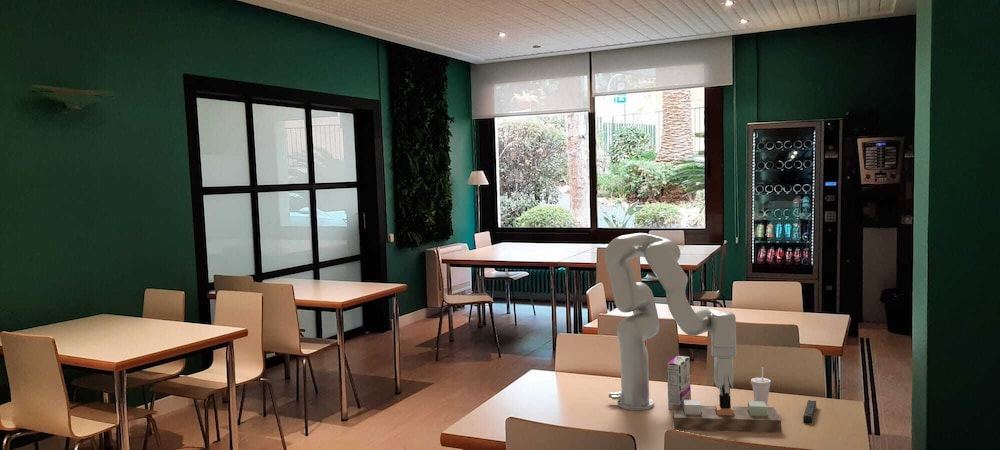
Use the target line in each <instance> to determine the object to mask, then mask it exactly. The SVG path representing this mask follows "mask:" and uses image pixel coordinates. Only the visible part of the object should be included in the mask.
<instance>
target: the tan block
mask: <svg viewBox="0 0 1000 450" xmlns="http://www.w3.org/2000/svg"><path fill="white" fill-rule="evenodd" d="M715 406H716V415H732V416H734V409H733V407H732V406H733V405H732V404H731V408H720V404H715Z"/></svg>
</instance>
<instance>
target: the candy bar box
mask: <svg viewBox="0 0 1000 450" xmlns="http://www.w3.org/2000/svg"><path fill="white" fill-rule="evenodd" d="M690 360H691V359H690V356H685V355H675V356H674V357H673V358H672V359H671V360H670V361H668V362H667V363H666V372H667V373H666V375H667V379H666V380H667V404H668V406H667V407H668V408H667V409H668V410H669V411H672V405H684V400H692V396H691V395H692V394H691V393H692V392H691V366H690V365H691V363H690V362H691V361H690Z"/></svg>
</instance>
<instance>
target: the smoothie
mask: <svg viewBox="0 0 1000 450" xmlns="http://www.w3.org/2000/svg"><path fill="white" fill-rule="evenodd" d="M771 381H772V380H771V379H769V378H766V377H764V367H761V377H752V378H751V379H750V384H751V385H752V387H751V388H752V393H753V401H763V402H765V404H766V406H767V407H768V401H769V395H770V388H771V387H770V386H771V384H772V382H771Z"/></svg>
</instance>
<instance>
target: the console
mask: <svg viewBox="0 0 1000 450" xmlns="http://www.w3.org/2000/svg"><path fill="white" fill-rule="evenodd" d="M732 407H733V409H734V416H732V415H716V405H701V415H693V414H684V405H672V410H671V413H672V415H671V416H672V417H671V418H672V423H673V428H674V430H675V429H677V430H676V431H700V432H704V431H706V432H730V433H731V432H732V433H733V432H736V433H739V432H741V433H766V434H767V433H769V434H771V433H772V434H782V428H783V427H782V419H781V417H780V415H779V414H778V412H777V411H776V409H775V408H774V406H773V407H772V406H770V407H769V406H767V416H749V414H748V406H739V405H738V406H735V405H734V406H733V405H732Z"/></svg>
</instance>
